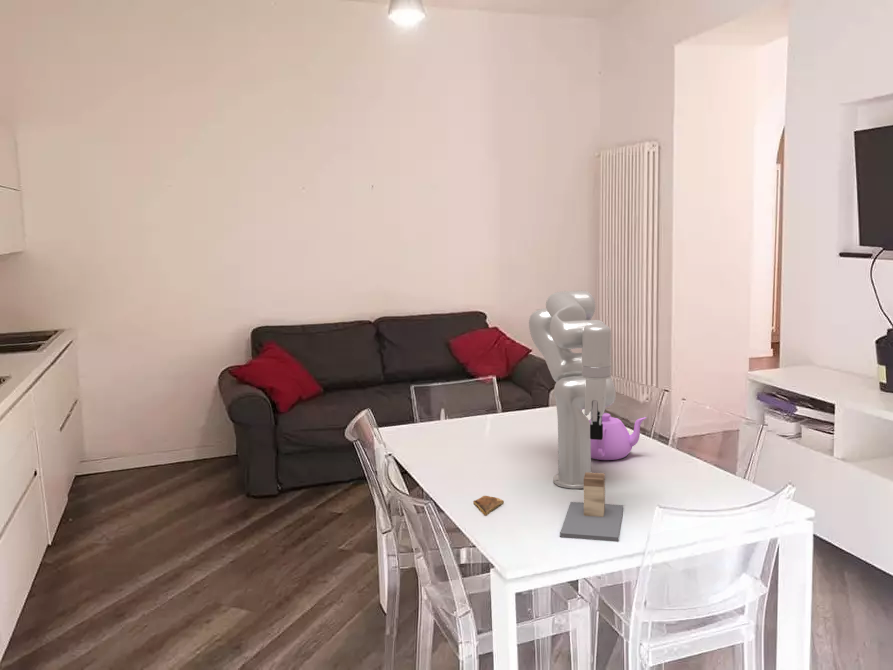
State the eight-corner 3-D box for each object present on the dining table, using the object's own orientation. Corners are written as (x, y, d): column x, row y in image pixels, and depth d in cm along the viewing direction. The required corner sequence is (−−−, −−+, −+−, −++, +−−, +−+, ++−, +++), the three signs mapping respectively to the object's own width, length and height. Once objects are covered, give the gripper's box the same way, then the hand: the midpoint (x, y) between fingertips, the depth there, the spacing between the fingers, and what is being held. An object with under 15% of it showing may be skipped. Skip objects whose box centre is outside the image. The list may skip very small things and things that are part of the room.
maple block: (585, 508, 214) (585, 472, 212) (604, 509, 212) (604, 473, 211) (583, 515, 209) (583, 478, 207) (603, 516, 207) (603, 479, 206)
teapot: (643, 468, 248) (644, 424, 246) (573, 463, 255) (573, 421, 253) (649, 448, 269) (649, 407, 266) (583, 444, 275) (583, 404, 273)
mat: (570, 505, 219) (570, 501, 219) (623, 508, 215) (623, 505, 215) (560, 536, 198) (560, 533, 198) (618, 541, 194) (618, 537, 194)
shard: (485, 517, 213) (485, 511, 213) (461, 513, 217) (460, 506, 217) (505, 504, 222) (505, 498, 222) (481, 500, 226) (481, 494, 226)
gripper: (585, 365, 220) (585, 430, 223) (578, 377, 206) (579, 446, 209) (613, 366, 218) (612, 431, 221) (608, 378, 204) (608, 447, 207)
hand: (596, 438), depth 215 cm, fingers closed
